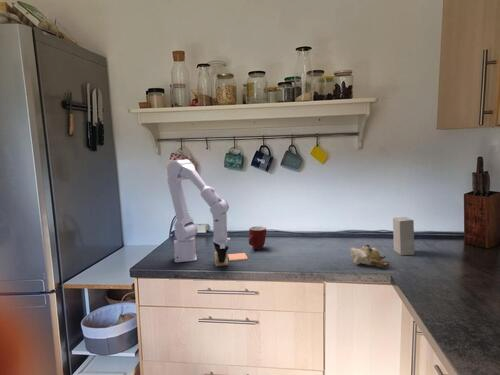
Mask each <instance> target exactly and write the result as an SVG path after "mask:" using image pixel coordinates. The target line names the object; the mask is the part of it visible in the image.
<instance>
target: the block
mask: <svg viewBox="0 0 500 375" xmlns="http://www.w3.org/2000/svg"><path fill="white" fill-rule="evenodd" d="M214 264H215V267H219V266H228V265H229V258H228V252H227V253H226V257H225V262H224V263H220V262H219V259H218V254H217V251H216V250H214Z"/></svg>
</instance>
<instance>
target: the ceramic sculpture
mask: <svg viewBox="0 0 500 375" xmlns="http://www.w3.org/2000/svg"><path fill="white" fill-rule="evenodd" d="M349 249H350V257H351V258H352V261H353V262H352V263H353V264H355V265H357V266H358V265H359V264H363V265H366V266H376V267H379V268H381V267H386V266H390V263H388V262H385V261H384V259H385V258H387V257H386V256H385V255H383V256H382V255H381V254H380V251H379V250H378V248H375V247H371V246H370V244H366V245H363V246H362V247H361V248H357V247H353V246H351V247H349Z"/></svg>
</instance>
